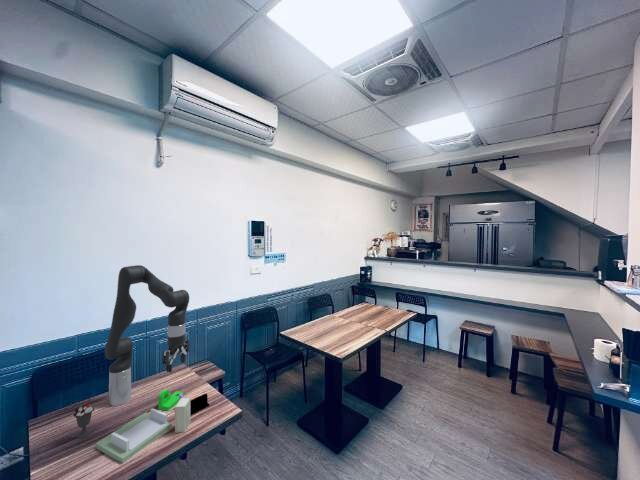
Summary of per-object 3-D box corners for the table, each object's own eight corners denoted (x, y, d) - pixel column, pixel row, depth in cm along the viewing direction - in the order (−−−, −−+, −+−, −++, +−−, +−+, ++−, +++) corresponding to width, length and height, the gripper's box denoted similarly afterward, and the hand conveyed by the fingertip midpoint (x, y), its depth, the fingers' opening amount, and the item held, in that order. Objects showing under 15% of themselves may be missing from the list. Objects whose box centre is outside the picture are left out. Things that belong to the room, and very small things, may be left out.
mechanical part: (168, 411, 128) (168, 395, 127) (158, 409, 129) (158, 393, 129) (185, 396, 139) (185, 381, 139) (176, 394, 141) (176, 380, 140)
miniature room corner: (186, 418, 123) (186, 404, 122) (176, 407, 130) (176, 394, 130) (210, 406, 132) (210, 393, 132) (199, 396, 139) (199, 384, 139)
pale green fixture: (95, 447, 105) (95, 433, 105) (145, 416, 124) (145, 404, 123) (122, 463, 98) (122, 448, 98) (171, 427, 116) (171, 414, 116)
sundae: (98, 430, 114) (97, 397, 114) (79, 442, 108) (79, 407, 108) (88, 427, 116) (88, 394, 116) (70, 438, 110) (69, 403, 110)
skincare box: (181, 423, 119) (181, 397, 119) (190, 422, 120) (190, 397, 119) (174, 433, 113) (174, 406, 113) (184, 433, 113) (184, 406, 113)
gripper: (180, 327, 129) (180, 358, 129) (157, 338, 115) (157, 373, 115) (194, 328, 127) (193, 360, 128) (171, 340, 113) (171, 376, 114)
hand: (176, 367), depth 121 cm, fingers open, 8 cm apart
